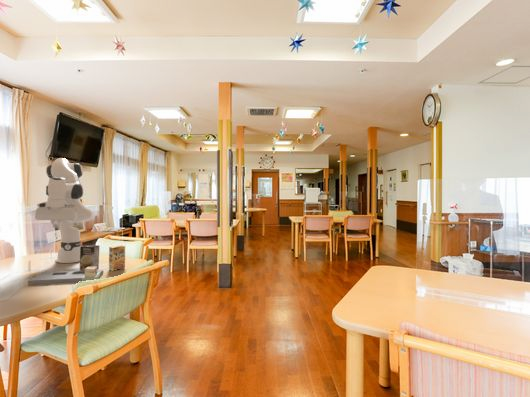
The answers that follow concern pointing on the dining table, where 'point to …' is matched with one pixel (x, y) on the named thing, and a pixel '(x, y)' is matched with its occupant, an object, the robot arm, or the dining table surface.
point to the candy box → (116, 257)
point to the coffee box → (89, 256)
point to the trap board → (61, 277)
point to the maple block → (90, 271)
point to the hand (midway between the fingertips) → (56, 227)
